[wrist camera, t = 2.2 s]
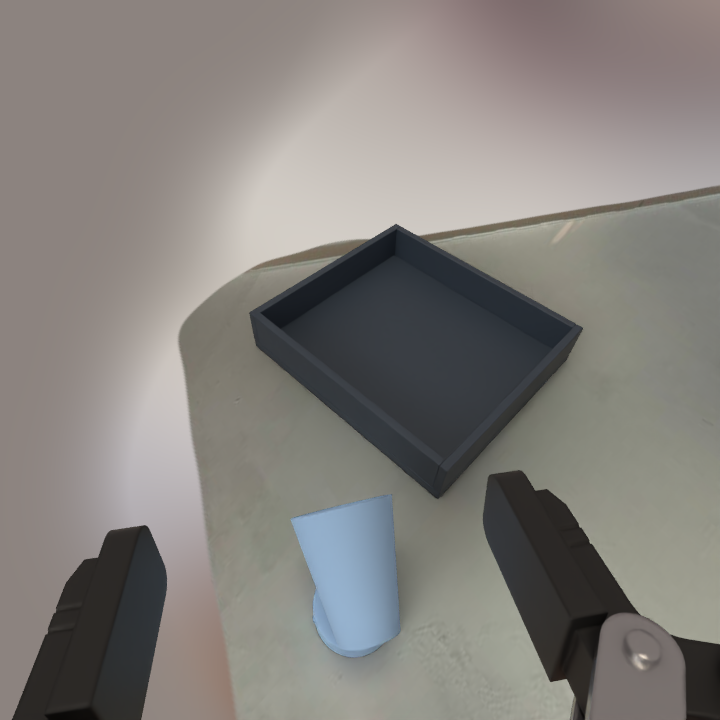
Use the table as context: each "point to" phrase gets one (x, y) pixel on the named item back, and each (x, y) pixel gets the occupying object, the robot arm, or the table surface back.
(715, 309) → the table surface
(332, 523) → the spotlight
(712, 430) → the table surface
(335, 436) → the table surface
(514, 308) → the tray
